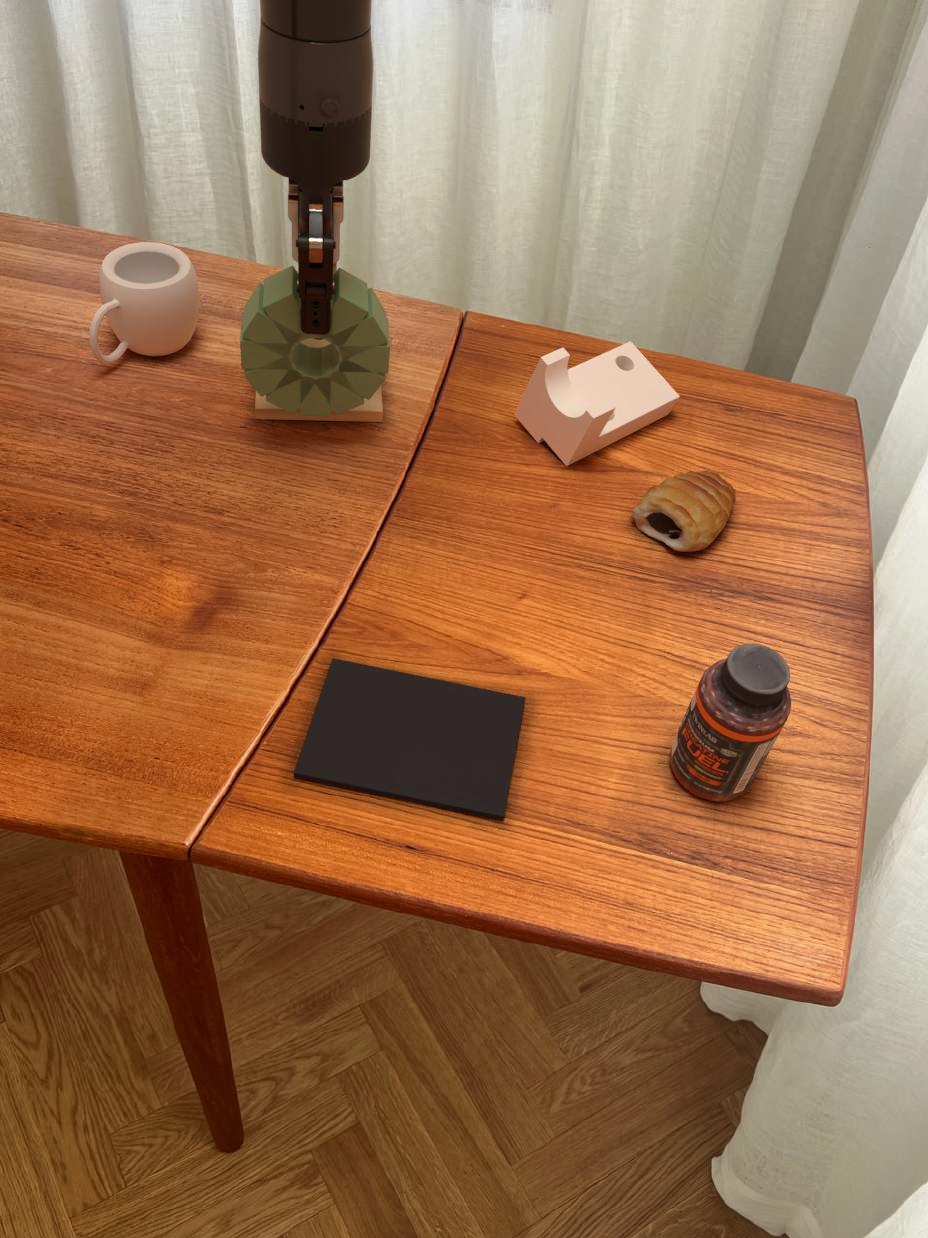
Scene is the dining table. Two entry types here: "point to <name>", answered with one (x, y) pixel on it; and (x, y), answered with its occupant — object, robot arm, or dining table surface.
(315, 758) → the mat
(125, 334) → the mug
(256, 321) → the green grooved wheel
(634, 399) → the bracket
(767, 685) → the supplement bottle
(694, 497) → the pastry
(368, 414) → the peg stand with base
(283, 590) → the dining table surface
